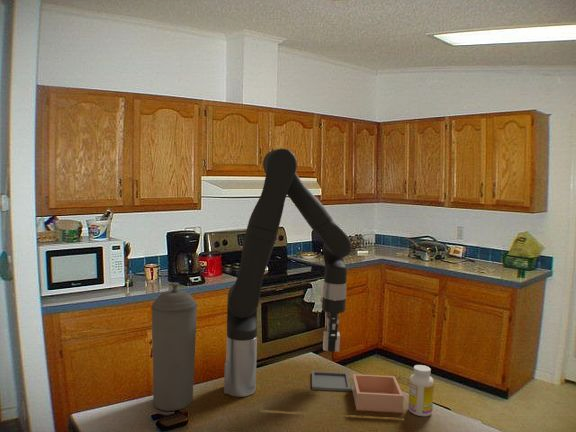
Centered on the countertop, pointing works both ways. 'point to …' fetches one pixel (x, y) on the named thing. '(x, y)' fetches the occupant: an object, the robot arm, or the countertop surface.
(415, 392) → the supplement bottle
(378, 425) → the countertop surface
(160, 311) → the canister
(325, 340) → the cream rectangular block
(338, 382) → the tray
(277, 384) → the countertop surface
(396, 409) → the bin
